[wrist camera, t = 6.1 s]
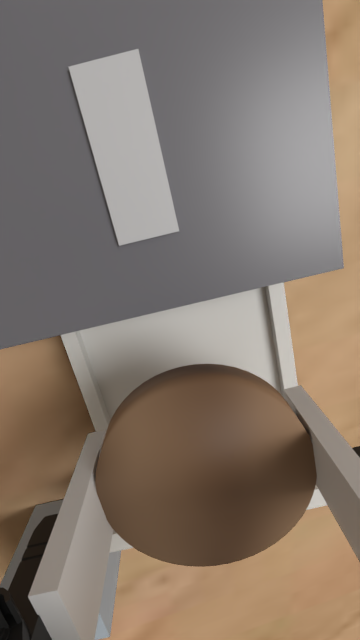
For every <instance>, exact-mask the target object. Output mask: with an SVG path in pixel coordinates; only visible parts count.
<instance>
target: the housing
mask: <svg viewBox="0 0 360 640" xmlns="http://www.w3.org/2000/svg"><path fill="white" fill-rule="evenodd" d="M342 268H344V266H343V253H342V241H341V228H340V215H339V203H338V190H337V178H336V165H335V153H334V140H333V128H332V115H331V103H330V90H329V78H328V65H327V53H326V40H325V28H324V15H323V3H322V0H0V349H4V348H8V347H12V346H16V345H21V344H25V343H29V342H33V341H37V340H42V339H46V338H50V337H54V336H59V335H63V334H67V333H71V332H76V331H80V330H84V329H88V328H92V327H97V326H101V325H105V324H109V323H114V322H118V321H122V320H126V319H130V318H135V317H139V316H143V315H147V314H152V313H156V312H160V311H164V310H169V309H173V308H177V307H181V306H185V305H190V304H194V303H198V302H202V301H207V300H211V299H215V298H219V297H223V296H228V295H232V294H236V293H240V292H245V291H249V290H253V289H257V288H262V287H266V286H270V285H274V284H278V283H283V282H287V281H291V280H295V279H300V278H304V277H308V276H312V275H316V274H321V273H325V272H329V271H333V270H338V269H342Z"/></svg>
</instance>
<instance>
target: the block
mask: <svg viewBox="0 0 360 640" xmlns="http://www.w3.org/2000/svg"><path fill="white" fill-rule="evenodd" d="M63 500H64V499H62V500H58V501H53V502H49V503H44V504H40V505H36V506H35V508H34V510H33V513H32V515H31V517H30V519H29V522H28V524H27V526H26V528H25V530H24V533H23V535H22V537H21V539H20V542H19V544H18V546H17V548H16V551H15V553H14V555H13V557H12V560H11V562H10V564H9V566H8V569H7V571H6V573H5V575H4V577H3V580H2V582H1V584H0V588H5V589H6V590H7V591H8V589H9V587H10V584H11V582H12V580H13V577H14V575H15V573H16V570H17V568H18V566H19V563H20V562H21V561H22V556H23V554H24V552H25V549H27V545H28V542H29V540H30V538H31V535H32V533H33V531H34V529H35V528H36V527H37V526H38V524H39V523H40V522H41V521H42V519H43V518H44V517H45V516H49V515H54V514H58V513H59V511H60V508H61V505H62V503H63ZM120 555H121V550H120V551H115V552H111V553H109V558H108V564H107V569H106V575H105V581H104V587H103V593H102V599H101V604H100V610H99V616H98V622H97V628H96V633H95V639H94V640H97V639H102V638H107V637H110V632H111V625H112V617H113V609H114V602H115V594H116V586H117V579H118V571H119V563H120Z"/></svg>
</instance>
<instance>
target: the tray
mask: <svg viewBox="0 0 360 640" xmlns="http://www.w3.org/2000/svg"><path fill="white" fill-rule="evenodd" d="M61 338H62V341H63V343H64V346H65V349H66V352H67V354H68V357H69V360H70V363H71V365H72V368H73V371H74V374H75V376H76V379H77V382H78V384H79V387H80V390H81V393H82V395H83V398H84V401H85V404H86V406H87V409H88V412H89V414H90V417H91V420H92V423H93V425H94V428H95V431H96V432H97V431H101V430H105V432H106V431H107V428H108V426H109V423H110V420H111V418H112V417H113V415H114V413H115V411H116V410H117V408H118V407H119V405H120V404H121V403H122V401H123V400H124V399H125V398H126V397H127V396H128V395H129V394H130V393H131V392H132V391H133V390H134V389H136V388H137V387H138V386H140V385H141V384H142V383H144V382H145V381H147V380H149V379H150V378H152V377H154V376H156V375H158V374H160V373H163V372H165V371H167V370H171V369H174V368H178V367H181V366H187V365H193V364H220V365H226V366H231V367H236V368H239V369H242V370H245V371H248V372H250V373H252V374H254V375H256V376H258V377H260V378H262V379H263V380H265V381H266V382H268V383H269V384H271V385H272V386H273V387H274V388H275V389H276V390H277V391H278V392H279V393H280V394H281V395H282V396H283V398H284V399H285V396H284V390H283V389H287V388H291V387H296V386H298V384H297V376H296V369H295V362H294V354H293V347H292V340H291V333H290V325H289V318H288V311H287V304H286V296H285V289H284V282H283V283H278V284H274V285H270V286H266V287H262V288H257V289H253V290H249V291H245V292H240V293H236V294H232V295H228V296H223V297H219V298H215V299H211V300H207V301H202V302H198V303H194V304H190V305H185V306H181V307H177V308H173V309H169V310H164V311H160V312H156V313H152V314H147V315H143V316H139V317H135V318H130V319H126V320H122V321H118V322H114V323H109V324H105V325H101V326H97V327H92V328H88V329H84V330H80V331H76V332H71V333H67V334H63V335H61ZM326 505H327V503H326V501H325V500H324V498H323V496H322V494H321V493H320V491H319V489H318V487H317V485H315V489H314V493H313V496H312V498H311V501H310V503H309V505H308V507H307V509H306V510H308V509H312V508H317V507H322V506H326ZM129 548H134V547H132V546H131V545H129V544H128V543H127V542H126V541H124V540H123V539H122V538H121V537H120V536H119V535H118V534H117V533H116V532H115V531H114V530H113V535H112V540H111V546H110V552H109V553H111V552H115V551H120V550H125V549H129Z"/></svg>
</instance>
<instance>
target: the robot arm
mask: <svg viewBox="0 0 360 640" xmlns="http://www.w3.org/2000/svg"><path fill="white" fill-rule="evenodd" d="M283 390H284V396H285V400H286V401H287V403H288V404H289V406H290V407H291V409H292V410H293V412H294V413H295V414H296V416H297V417H298V419H299V420H300V422H301V423H302V425H303V427H304V428H305V430H306V432H307V433H308V435H309V437H310V439H311V442H312V444H313V451H314V458H315V465H316V473H317V478H316V485H317V487H318V489H319V491H320V493H321V494H322V496H323V498H324V500H325V501H326V503H327V505H328V507H329V508H330V510H331V512H332V514H333V516H334V517H335V519H336V521H337V523H338V524H339V526H340V528H341V530H342V531H343V533H344V535H345V537H346V538H347V540H348V542H349V544H350V546H351V547H352V549H353V551H354V553H355V554H356V556H357V558H358V560H359V561H360V446H359V447H354V448H351V446H350V445H349V444H348V443H347V442H346V440H345V439H344V438H343V437H342V435H341V434H340V433H339V432H338V430H337V429H336V428H335V427H334V426H333V424H332V423H331V422H330V421H329V419H328V418H327V417H326V416H325V415H324V413H323V412H322V411H321V410H320V408H319V407H318V406H317V405H316V403H315V402H314V401H313V400H312V399H311V397H310V396H309V395H308V394H307V392H306V391H305V390H304V389H303V388H302V386H301V385H300V386H296V387H291V388H287V389H283ZM105 434H106V432H105V430H101V431H97V432H92V433H88V435H87V438H86V440H85V443H84V446H83V448H82V451H81V454H80V457H79V459H78V462H77V465H76V467H75V470H74V473H73V476H72V478H71V481H70V484H69V486H68V489H67V492H66V495H65V497H64V500H63V503H62V505H61V508H60V511H59V513H58V514H54V515H49V516H45V517H44V518H43V519H42V521H41V522H40V523H39V524H38V526H37V527H36V528H35V529H34V531H33V533H32V535H31V538H30V540H29V542H28V545H27V549H25V552H24V554H23V556H22V561H21V562H20V563H19V566H18V568H17V570H16V573H15V575H14V577H13V580H12V582H11V584H10V587H9V589H8V591H7V590H6V589H5V588H0V640H94V639H95V633H96V628H97V622H98V616H99V610H100V604H101V599H102V593H103V587H104V581H105V575H106V569H107V564H108V558H109V552H110V546H111V540H112V535H113V528H112V527H111V526H110V524H109V523H108V521H107V519H106V516H105V514H104V511H103V508H102V506H101V503H100V501H99V498H98V495H97V492H96V469H97V464H98V459H99V456H100V452H101V449H102V445H103V442H104V438H105Z"/></svg>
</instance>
